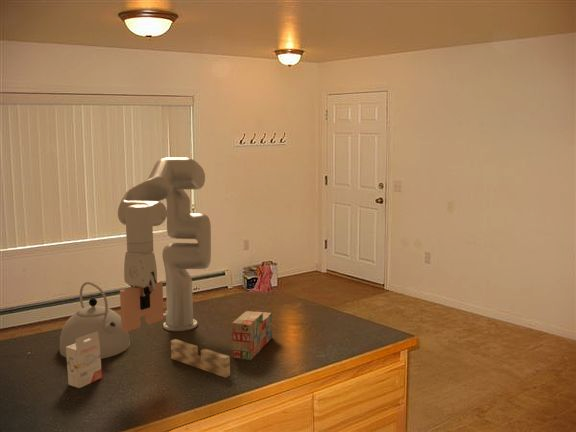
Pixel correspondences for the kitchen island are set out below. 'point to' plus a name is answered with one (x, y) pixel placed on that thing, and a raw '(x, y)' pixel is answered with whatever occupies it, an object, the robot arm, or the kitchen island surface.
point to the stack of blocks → (251, 333)
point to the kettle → (95, 327)
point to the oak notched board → (200, 358)
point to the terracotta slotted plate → (132, 307)
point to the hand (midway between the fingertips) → (142, 307)
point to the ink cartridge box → (84, 360)
